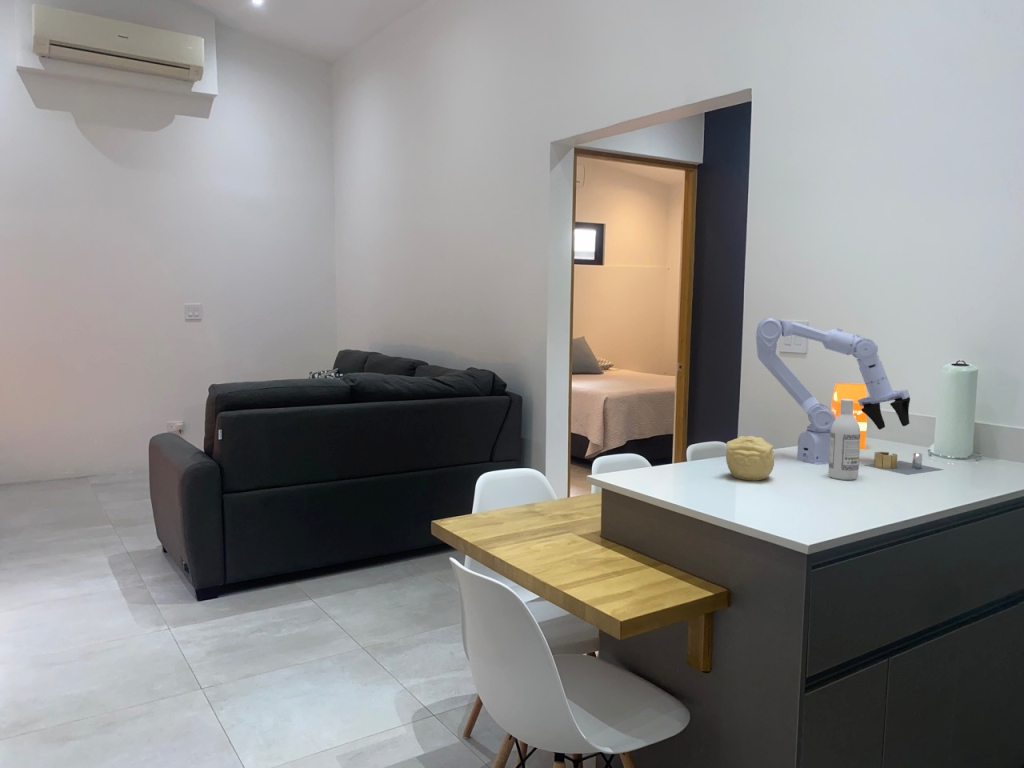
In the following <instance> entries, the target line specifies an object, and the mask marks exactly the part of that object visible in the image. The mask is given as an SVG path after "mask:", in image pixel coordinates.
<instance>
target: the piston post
mask: <svg viewBox="0 0 1024 768" xmlns="http://www.w3.org/2000/svg"><path fill="white" fill-rule="evenodd" d="M922 462H923V453H921V452H913V453H912V462H911V463H912V468H913V469H921V468H922V465H923V463H922Z"/></svg>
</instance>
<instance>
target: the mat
mask: <svg viewBox="0 0 1024 768" xmlns="http://www.w3.org/2000/svg"><path fill="white" fill-rule="evenodd" d="M863 466H865V467H870V468H875V469H878V470H883V471H888V472H891V473H897V474H902V475H906V476H910V475H918V474H922V473H930V472H931V473H932V472H939V471H944V470H945V469H943V468H938V467H933V466H930V465H929V466H928V465H924V464H922V468H921V469H913V468H912V462H909V461H905V460H904V461H903V460H897V468H896V469H883V468H878V467H875V466H874V463H870V464H869V463H868V464H864V465H863Z"/></svg>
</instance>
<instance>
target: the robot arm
mask: <svg viewBox="0 0 1024 768" xmlns="http://www.w3.org/2000/svg"><path fill="white" fill-rule="evenodd" d="M755 331H756V332H755V342H756V353H757V358H758V360H759V361H760V362H761V363H762V365H763V366H764V367H765V368H766V369H767V370H768V371H769V372H770V374H771V375H772V376H773V377H774V378H775V379H776V380H777V382H778V383H779V384H780V385H781V386H782V387H783V388H784V389H785V390H786V391H787V393H788V394H789V395H790V396H791V397H792V399H793V400H795V402H796V404H798V405H799V407H800V408H801V409H803V412H805V413H806V415H807V417H808V421H809V422H810V424H809V425H808V426H807V427H806V430H805V431H802V432H801V433H800V434H799V436H798V438H797V439H798V440H797V453H796V454H797V457H795V458H794V460H796V461H801V462H804V463H809V464H813V465H823V464H824V465H825V464H829V451H830V432H831V427H832V424H833V422H834V421H835V415H834V413H833V412H832V411H831V409H830V408H829V407H828V406H826V405H824V404H823V403H821V402H819V401H818V399H817V398H816V397H815V396H814V395H813V394H812V393H811V392H810V391H809V390H808V388H807V387H806V386H805V385H804V384H803V383H802V381H801V380H800V379H799V378H798V377H797V376H796V375H795V373H794V372H792V370H791V369H790V368H789V367H788V366H787V365H786V364H785V362H784V361H782V359H781V358H780V357H779V355H777V354H776V352H777V348H778V347H777V345H778V341H779V339H780V337H781V336H782V337H790V336H797V337H800V338H805V339H809V340H812V341H816V342H819V343H822V345H823V347H824V349H826V350H829V351H832V352H836V353H839V354H842V355H846V356H850V355H852V356H853V357H854V358H855V359H856V361H857V364H858V369H859V371H860V374H861V377H862V379H863V382H864V384H865V386H866V391H867V392H868V395H869V396H867V397H865V398H861V399H859V400H858V402H859V405H860V407H861V406H864V408H862V409H861V410H862V412H864V413H865V414H866V415H867V418H869V419H870V420H871V421H872V422H873V423H874V425H875V426H876V428H877V429H878V430H883V429H885V427H886V424H885V421H884V418H883V416H882V415H883V414H882V411H881V405H880V404H881V403H885V402H890V403H889V405H890V407H891V408H892V409H893V410H894V411H895V413H896V415H897V417H898V420H899V422H900V424H901V426H902V427H906V426H909V424H910V418H909V417H910V416H909V413H910V412H909V411H910V410H909V409H910V403H911V398H910V396H911V395H910V394H909V391H908V389H904V390H903V389H902V390H893V389H892V387H891V383H890V381H889V378H888V375H887V373H886V370H885V368H884V365H883V363H882V361H881V360H880V356H879V354H878V351H879V349H878V345H877V344H876V343H875V342H874V340H871V339H869V338H865V337H861V335H860V334H859V333H858V334H857V333H856V334H851V333H848V332H845V331H843V329H842V328H838V327H837V328H836V329H834V328H832V329H829V330H827V331H823V330H821V329H817V328H815V327H811V326H809V325H805V324H801V323H799V322H795V321H792V320H785V319H775V318H773V317H765V318H763V319H762V320H761V321H759V323H758V324H757V329H756V330H755ZM891 401H892V402H891Z"/></svg>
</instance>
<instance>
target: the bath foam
mask: <svg viewBox="0 0 1024 768" xmlns="http://www.w3.org/2000/svg"><path fill="white" fill-rule="evenodd" d="M853 402H854V401H853V400H851V399H841V407H840V414H839V416H838V417H837V418H836V419H835V421H834V422H833V424H832V427H831V432H830V451H829V463H828V477H830V478H831V477H832V479H835V480H840V481H841V480H842V481H855V480H857V479H858V478H859V469H860V467H859V466H860V453H861V452H860V451H861V450H860V435H861V434H860V427H859V424H858V422H857V420H856V419H855V417H854V415H853V414H852V413H853Z"/></svg>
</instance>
